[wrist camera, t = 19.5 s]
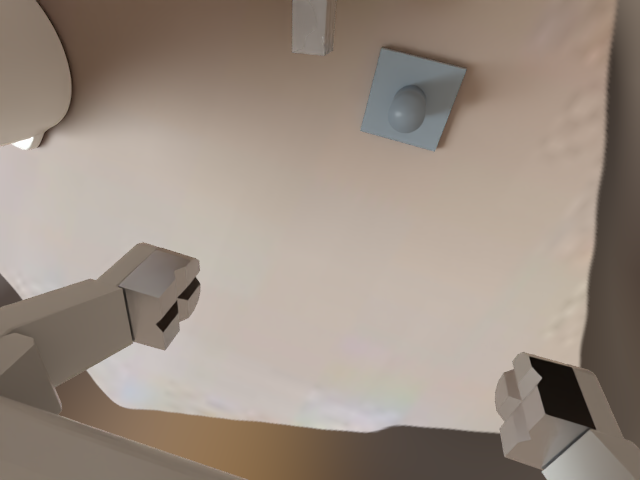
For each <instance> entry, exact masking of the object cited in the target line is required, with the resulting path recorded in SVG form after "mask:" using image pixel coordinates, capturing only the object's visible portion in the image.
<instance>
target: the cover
mask: <svg viewBox="0 0 640 480" xmlns="http://www.w3.org/2000/svg"><path fill="white" fill-rule="evenodd" d="M466 70H467V69H466V68H464V67H460V66H456V65H452V64H448V63H444V62H440V61H436V60H432V59H428V58H424V57H420V56H416V55H412V54H408V53H404V52H400V51H396V50H392V49H388V48H384V47H382V48H381V52H380V56H379V60H378V64H377V68H376V72H375V75H374V79H373V83H372V87H371V91H370V95H369V99H368V103H367V107H366V111H365V115H364V118H363V122H362V126H361V130H360V131H363V132H366V133H370V134H373V135H377V136H381V137H384V138H388V139H391V140H395V141H399V142H402V143H406V144H409V145H413V146H417V147H420V148H424V149H427V150H431V151H435V150H436V147H437V145H438V142H439V140H440V137H441V134H442V132H443V129H444V127H445V124H446V122H447V119H448V116H449V114H450V111H451V109H452V106H453V104H454V101H455V98H456V96H457V93H458V91H459V88H460V85H461V83H462V80H463V78H464V75H465V73H466Z"/></svg>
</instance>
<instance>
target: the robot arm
mask: <svg viewBox="0 0 640 480" xmlns="http://www.w3.org/2000/svg"><path fill="white" fill-rule="evenodd" d="M70 100H71V76H70V70H69V66H68V62H67V59H66V55H65V52H64V49H63V47H62V44H61V42H60V40H59V38H58V35H57V33H56V31H55V29H54V28H53V26H52V24H51V22H50V21H49V19H48V17H47V16H46V14H45V13H44V11H43V10H42V8H41V7H40V6H39V4H38V3H37V2H36V0H0V147H1V146H4V145H8V144H11V145H14V146H16V147H18V148H20V149H22V150H30V149H34V148H37V147H38V146H39V144H40V142H41V140H42V138H43V135H44V132H45V131H47V130H48V129H49V128H51V127H53V126H55V125H56V124H58V123H59V122H60V121H61V120H62V119H63V118H64V116H65V115H66V113H67V111H68V108H69V105H70ZM199 271H200V265H199V260H197V259H196V258H193V257H190V256H187V255H183V254H180V253H177V252H174V251H171V250H167V249H164V248H160V247H156V246H153V245H150V244H147V243H144V242H143V243H139V244H137V245H136V246H134V247H133V248H132V249H131V250H130V251H129V252H128V253H126V254H125V255H124V256H123V257H122V258H121V259H120V260H118V261H117V262H116V263H115V264H114V265H113V266H112V267H111V268H109V269H108V270H107V271H106V272H105V273H104V274H103V275H101V276H100V277H99V278H98V279H97V280H93V279H88V280H85V281H82V282H79V283H75V284H72V285H69V286H66V287H63V288H60V289H57V290H53V291H50V292H47V293H44V294H41V295H38V296H35V297H32V298H28V299H25V300H22V301H19V302H16V303H13V304H10V305H6V306H3V307H0V480H247V479H244V478H241V477H238V476H235V475H232V474H230V473H227V472H223V471H221V470H218V469H215V468H212V467H209V466H206V465H203V464H200V463H197V462H194V461H191V460H188V459H186V458H183V457H180V456H177V455H174V454H171V453H168V452H165V451H162V450H159V449H156V448H153V447H150V446H147V445H144V444H141V443H138V442H135V441H133V440H130V439H127V438H124V437H121V436H118V435H115V434H112V433H109V432H106V431H103V430H100V429H97V428H94V427H92V426H89V425H86V424H82V423H80V422H77V421H74V420H71V419H68V418H65V417H62V416H59V415H58V414H59V413H60V412H61V411H62V404H61V401H60V399H59V397H58V394H57V392H56V390H55V387H57V386H58V385H60V384H62V383H64V382H65V381H67V380H69V379H71V378H73V377H74V376H76V375H78V374H80V373H81V372H83V371H85V370H87V369H88V368H90V367H92V366H94V365H96V364H97V363H99V362H101V361H103V360H104V359H106V358H108V357H110V356H111V355H113V354H115V353H117V352H119V351H120V350H122V349H124V348H126V347H127V346H129V345H131V344H133V342H137V343H140V344H144V345H147V346H151V347H154V348H158V349H162V350H166V349H167V347H168V346H169V345H170V343H171V342H172V340H173V339H174V338H175V336H176V335H177V334H178V332H179V331H180V328H179V322H180V321H183V320H185V319H187V318H189V317H190V315H191V314H192V312H193V311H194V309H195V307H196V305H197V302H198V300H199V296H200V283H199V281H198V280H197V278H196V275H197V274H198V273H199ZM512 362H513V366H514V369H513V370H510V371H507V372H505V373H503V375H502V376H501V378H500V379H499V381H498V384H497V387H496V391H495V404H496V411H497V412H498V414H499V415H500V416H501V418H502V419H503V420H504V423H503V425H502V426H501V427H500V434H501V440H502V446H503V451H504V456H505V457H506V458H509V459H512V460H515V461H518V462H521V463H524V464H527V465H530V466H533V467H535V468H538V469H541V470H543V471H542V473H543V474H544V476H545V477H546V479H547V480H640V449H639V448H638V447H637V446H636V445H635V444H634V443H633V442H632V441H628V440H625V439H624V438H623V435H622V433H621V431H620V429H619V427H618V424H617V422H616V420H615V418H614V415H613V413H612V411H611V409H610V406H609V404H608V402H607V400H606V397H605V395H604V393H603V391H602V388H601V386H600V384H599V382H598V379H597V377H596V376H595V374H594V373H593V372H592V371H591V370H587V369H583V368H580V367H576V366H572V365H569V364H564V363H561V362H557V361H554V360H550V359H546V358H543V357H539V356H536V355H532V354H528V353H525V352H522V353H520V354H518V355H517V356H516V357H515V359H514V360H513V361H512Z"/></svg>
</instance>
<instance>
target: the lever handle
mask: <svg viewBox="0 0 640 480" xmlns="http://www.w3.org/2000/svg"><path fill="white" fill-rule="evenodd" d="M335 14H336V0H292V53H300V54H310V55H320V56H325V55H326V54H328V53H330V52H331V51H333V44H334V29H335Z"/></svg>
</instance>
